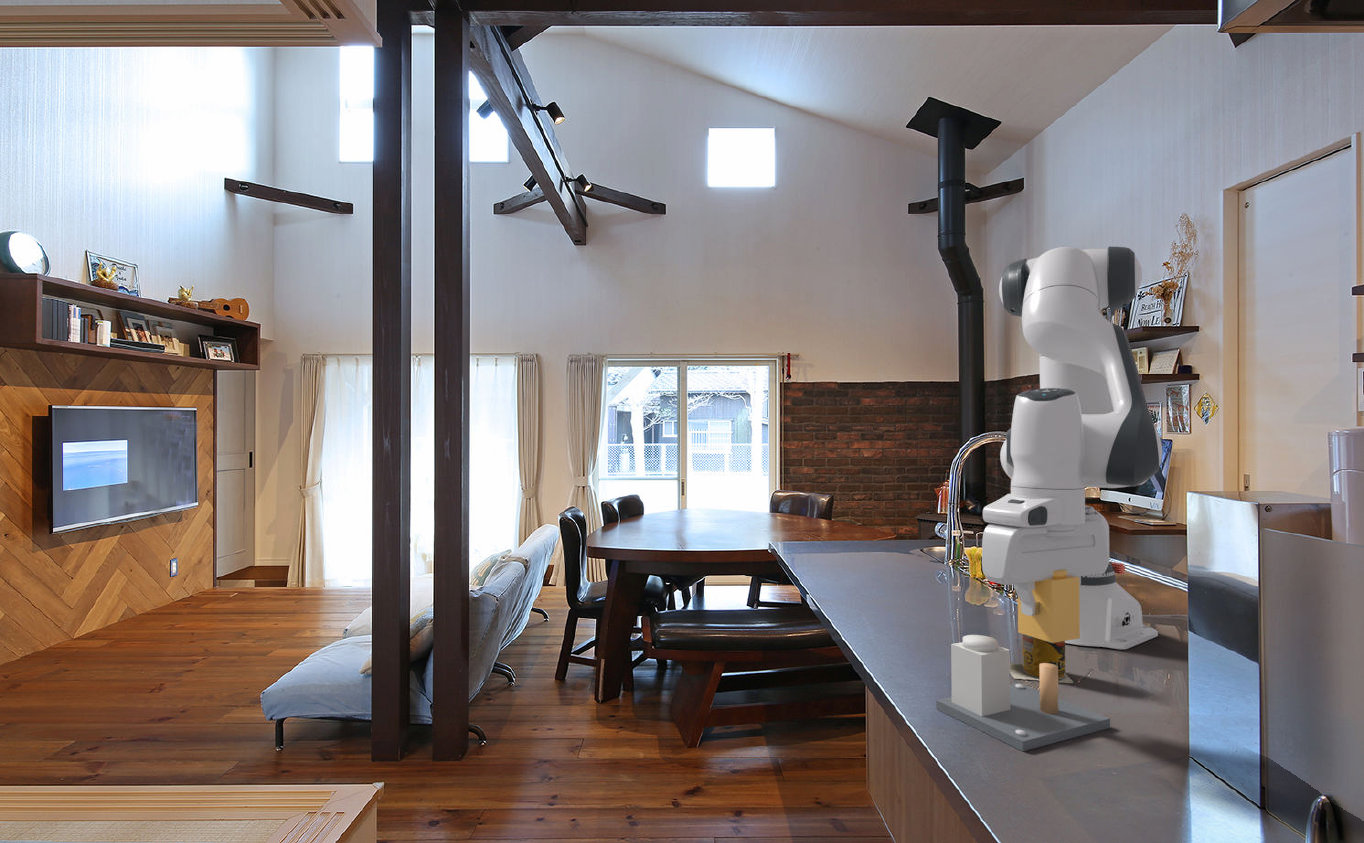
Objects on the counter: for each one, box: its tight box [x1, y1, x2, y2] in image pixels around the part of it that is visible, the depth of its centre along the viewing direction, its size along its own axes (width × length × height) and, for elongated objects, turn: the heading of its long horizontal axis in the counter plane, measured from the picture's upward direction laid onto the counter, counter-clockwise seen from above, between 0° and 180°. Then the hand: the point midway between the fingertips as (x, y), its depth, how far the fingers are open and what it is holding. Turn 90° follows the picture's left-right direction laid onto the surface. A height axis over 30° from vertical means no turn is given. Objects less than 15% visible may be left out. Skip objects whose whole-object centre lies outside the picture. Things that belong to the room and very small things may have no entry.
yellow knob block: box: [1017, 569, 1080, 643], centre depth 92 cm, size 5×5×9 cm
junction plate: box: [935, 634, 1111, 752], centre depth 93 cm, size 16×14×10 cm
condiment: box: [1010, 633, 1075, 684], centre depth 110 cm, size 7×8×12 cm
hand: (1048, 612), depth 92 cm, fingers closed on yellow knob block, 5 cm apart
